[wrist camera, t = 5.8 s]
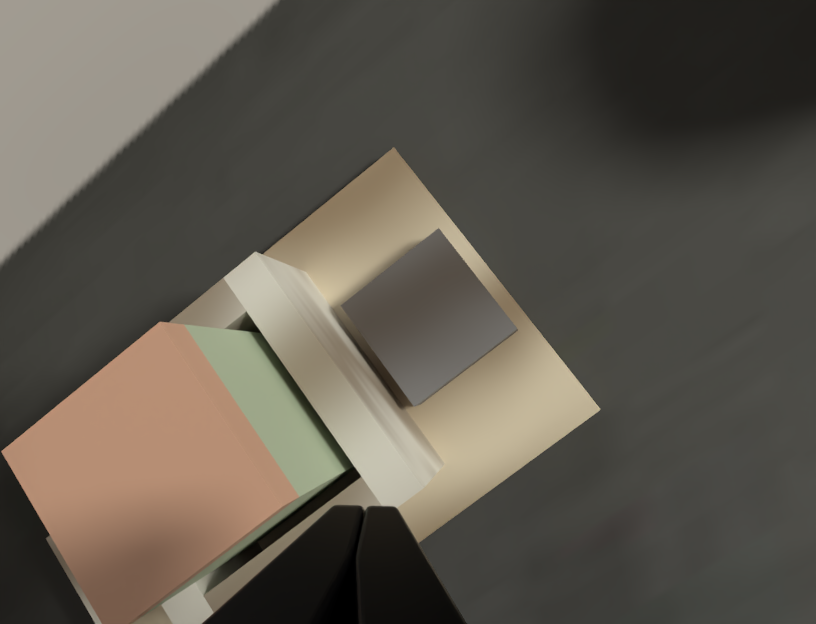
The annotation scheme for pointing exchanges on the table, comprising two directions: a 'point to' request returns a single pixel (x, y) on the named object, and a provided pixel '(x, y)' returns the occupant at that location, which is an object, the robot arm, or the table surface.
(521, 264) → the table surface
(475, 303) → the card holder
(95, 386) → the block
